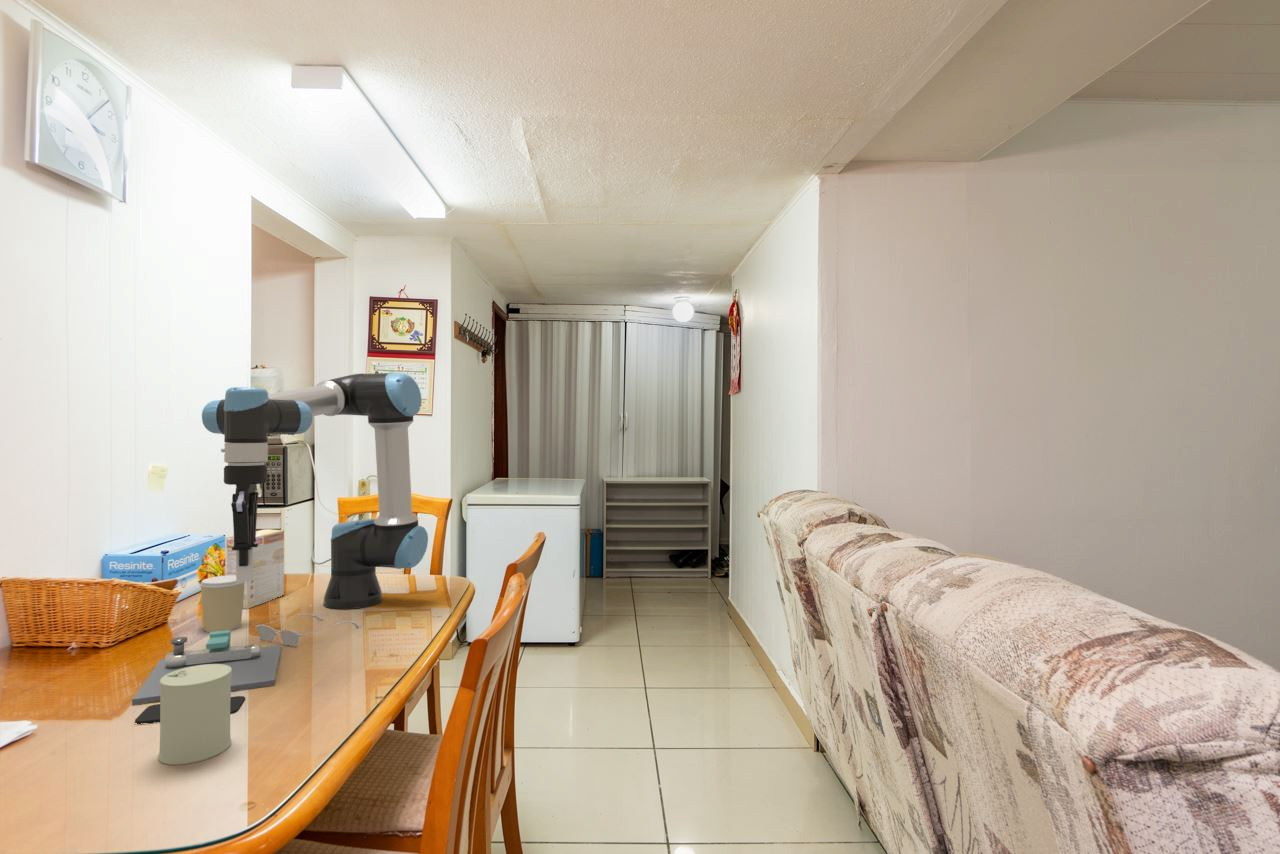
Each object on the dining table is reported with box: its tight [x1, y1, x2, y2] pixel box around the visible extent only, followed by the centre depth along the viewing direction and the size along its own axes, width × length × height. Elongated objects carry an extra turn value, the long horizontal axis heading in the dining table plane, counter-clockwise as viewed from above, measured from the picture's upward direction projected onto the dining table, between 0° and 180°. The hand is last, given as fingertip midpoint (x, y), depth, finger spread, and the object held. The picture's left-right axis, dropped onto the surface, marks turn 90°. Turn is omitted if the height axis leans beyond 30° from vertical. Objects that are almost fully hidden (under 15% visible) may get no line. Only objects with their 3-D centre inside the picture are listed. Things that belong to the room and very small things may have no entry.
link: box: [164, 636, 262, 668], centre depth 136 cm, size 17×4×5 cm, turn 112°
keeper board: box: [131, 630, 282, 706], centre depth 131 cm, size 22×23×6 cm
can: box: [157, 664, 232, 766], centre depth 100 cm, size 9×9×12 cm
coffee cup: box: [199, 575, 245, 633], centre depth 162 cm, size 9×9×12 cm
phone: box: [134, 695, 246, 725], centre depth 114 cm, size 7×1×15 cm
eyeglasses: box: [255, 613, 362, 647], centre depth 159 cm, size 15×18×4 cm
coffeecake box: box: [225, 528, 285, 610], centre depth 187 cm, size 15×7×20 cm, turn 172°
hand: (244, 581), depth 132 cm, fingers closed
